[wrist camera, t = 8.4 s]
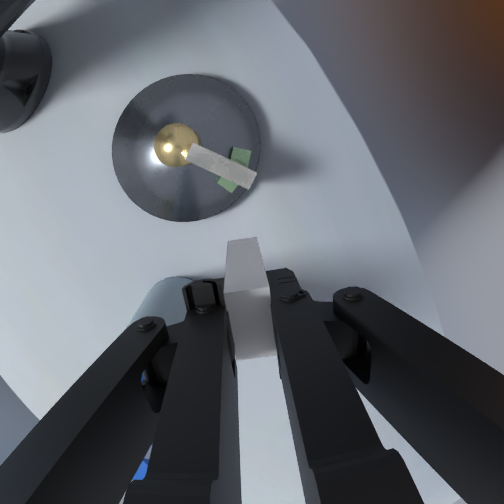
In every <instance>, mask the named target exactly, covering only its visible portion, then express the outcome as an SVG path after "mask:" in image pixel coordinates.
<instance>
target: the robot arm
mask: <svg viewBox="0 0 504 504" xmlns="http://www.w3.org/2000/svg"><path fill="white" fill-rule="evenodd" d="M34 1H35V0H0V133H6V132H9V131H12V130H14V129H16V128H17V127H19V126H20V125H22V124H23V123H24V122H25V121H26V120H27V119H28V118H29V117H30V116H31V114H32V113H33V112H34V111H35V109H36V108H37V106H38V104H39V103H40V101H41V99H42V97H43V95H44V93H45V90H46V88H47V85H48V81H49V77H50V72H51V54H50V50H49V47H48V45H47V43H46V41H45V40H44V39H43V38H42V37H40V36H39V35H37V34H35V33H33V32H31V31H27V30H14V31H12V30H8V29H9V28H10V27H11V25H12V24H13V23H14V22H15V21H16V20H17V19H18V18H19V17H20V16H21V15H22V14H23V12H24V11H25V10H26V9H27V8H28V7H29V6H30V5H31V4H32V3H33V2H34ZM182 293H183V297H184V302H185V306H186V310H187V312H186V316H185V319H184V321H182V322H179V323H176V324H173V325H169V326H166V323H165V320H164V319H163V318H161V317H157V316H151V317H150V316H146V317H145V318H144V317H142V318H140V319H139V320H137V321H134V322H133V323H132V324H130V325H129V326H128V327H127V328H126V329H125V330H124V332H123V333H122V334H121V335H120V336H119V337H118V338H117V339H116V340H115V341H114V342H113V343H112V344H111V345H110V346H109V347H108V348H107V349H106V350H105V351H104V352H103V353H102V354H101V355H100V357H99V358H98V359H97V360H96V361H95V362H94V363H93V364H92V365H91V366H90V367H89V368H88V369H87V370H86V371H85V372H84V373H83V375H82V376H81V377H80V378H79V379H78V380H77V381H76V382H75V383H74V384H73V385H72V386H71V387H70V389H69V390H68V391H67V392H66V393H65V394H64V395H63V396H62V397H61V398H60V399H59V400H58V402H57V403H56V404H55V405H54V406H53V407H52V408H51V409H50V410H49V411H48V413H47V414H46V415H45V416H44V417H43V418H42V419H41V420H40V421H39V423H38V424H37V425H36V426H35V427H34V428H33V429H32V430H31V432H30V433H29V434H28V435H27V436H26V437H25V438H24V440H23V441H22V442H21V443H20V444H19V445H18V446H17V448H16V449H15V450H14V451H13V452H12V453H11V454H10V456H9V457H8V458H7V459H6V460H5V461H4V463H3V464H2V465H1V466H0V504H119V502H120V500H121V499H122V497H123V495H124V493H125V492H126V493H125V497H124V502H123V504H242V500H241V476H240V449H239V418H238V382H237V365H236V361H238V360H246V359H253V358H261V357H268V356H274V355H277V357H278V365H279V374H280V379H282V384H283V389H284V394H285V399H286V405H287V410H288V415H289V420H290V425H291V430H292V435H293V440H294V445H295V450H296V456H297V461H298V466H299V471H300V476H301V481H302V486H303V492H304V497H305V502H306V504H424V502H423V500H422V498H421V496H420V494H419V491H418V489H417V487H416V485H415V483H414V481H413V479H412V477H411V475H410V472H409V470H408V468H407V466H406V464H405V462H404V460H403V458H402V457H401V455H400V454H399V452H398V451H396V450H395V449H394V448H392V449H389V450H386V449H385V448H384V447H383V445H382V443H381V441H380V439H379V437H378V435H377V432H376V430H375V428H374V426H373V424H372V422H371V419H370V417H369V415H368V413H367V411H366V409H365V407H364V404H363V402H362V400H361V398H360V396H359V394H358V392H357V390H356V388H357V389H358V390H359V391H360V392H361V394H362V395H363V396H364V397H365V398H366V399H367V400H368V401H369V402H370V403H371V404H372V405H373V406H374V407H375V408H376V409H377V410H378V412H379V413H380V414H381V415H382V416H383V417H384V418H385V419H386V420H387V421H388V422H389V423H390V424H391V425H392V426H393V427H394V428H395V429H396V431H397V432H398V433H399V434H400V435H401V436H402V437H403V438H404V439H405V440H406V441H407V442H408V443H409V444H410V445H411V446H412V447H413V448H414V449H415V450H416V451H417V452H418V453H419V455H420V456H421V457H422V458H423V459H424V460H425V461H426V462H427V463H428V464H429V465H430V466H431V467H432V468H433V469H434V470H435V471H436V472H437V473H438V474H439V475H440V476H441V477H442V478H443V479H444V480H445V481H446V482H447V483H448V484H449V485H450V486H451V488H452V489H453V490H454V491H455V492H456V493H457V494H458V495H459V496H460V497H461V498H463V500H464V501H465V502H466V503H467V504H504V375H503V374H501V373H500V372H498V371H497V370H495V369H494V368H492V367H490V366H489V365H488V364H486V363H485V362H483V361H481V360H480V359H478V358H477V357H475V356H474V355H472V354H470V353H469V352H467V351H466V350H464V349H462V348H461V347H460V346H458V345H456V344H455V343H453V342H452V341H450V340H449V339H447V338H445V337H444V336H442V335H441V334H439V333H437V332H436V331H434V330H433V329H431V328H429V327H428V326H426V325H425V324H423V323H421V322H420V321H418V320H417V319H415V318H413V317H412V316H410V315H408V314H407V313H405V312H404V311H402V310H400V309H399V308H397V307H395V306H394V305H392V304H391V303H389V302H387V301H386V300H384V299H382V298H381V297H379V296H377V295H376V294H374V293H372V292H371V291H369V290H367V289H364V288H358V287H347V288H344V289H341V290H339V291H337V292H335V293H334V295H333V302H318V301H313V300H312V298H311V296H310V294H309V293H308V292H307V291H305V290H302V289H301V287H300V285H299V283H298V281H297V279H296V277H295V275H294V272H293V271H291V270H289V269H287V268H284V269H277V270H270V271H265V268H264V264H263V260H262V256H261V252H260V248H259V244H258V240H257V237H253V238H246V239H239V240H232V241H228V244H227V256H226V268H225V278H220V279H201V280H197V281H193V282H191V283H188V284H187V285H185V286H184V287H183V288H182ZM235 356H236V360H235ZM142 374H143V376H144V378H145V379H144V380H143V382H142V383H141V378H142ZM355 387H356V388H355ZM152 443H153V445H152ZM151 445H152V449H151V453H150V458H149V462H148V467H147V472H146V475H145V477H144V478H143V479H142V480H133V481H132V479H133V477H134V475H135V474H136V472H137V470H138V468H139V466H140V465H141V463H142V461H143V459H144V457H145V456H146V454H147V452H148V450H149V448H150V447H151ZM131 481H132V482H131Z"/></svg>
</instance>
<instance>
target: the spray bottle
mask: <svg viewBox="0 0 504 504" xmlns="http://www.w3.org/2000/svg"><path fill="white" fill-rule="evenodd" d="M191 282H193V281H192V280H190V279H188V278H182V277H171V278H166V279H164V280H162V281H160V282H158V283H156V284H155V285H154V287H153V288H152V289H151V290H150V291H149V293H148V294H147V296H146V298H145V299H144V301H143V302H142V304H141V305H140V307H139V309H138V310H137V312H136V313H135V315H134V317H133V318H132V320H131V322H130V323H129V325H130V324H132V323H133V322H134V321H137V320H139V319H140V318H142V317H144V318H145V317H146V316H150V317H151V316H157V317H161V318H163V319H164V320H165V323H166V326H169V325H173V324H176V323H179V322H182V321H184V319H185V316H186V312H187V310H186V306H185V302H184V297H183V293H182V288H183V287H184V286H185V285H187V284H188V283H191ZM129 325H128V326H129ZM128 326H127V327H128ZM144 379H145V378H144V376H143V374H142V378H141V383H142V382H143V380H144ZM152 445H153V443H152ZM152 445H151V447H150V448H149V450H148V452H147V454H146V456H145V457H144V459H143V461H142V463H141V465H140V466H139V468H138V470H137V472H136V474H135V475H134V477H133V479H132V480H142V479H143V478H144V477H145V475H146V472H147V467H148V462H149V458H150V453H151V449H152Z"/></svg>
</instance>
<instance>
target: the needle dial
mask: <svg viewBox="0 0 504 504" xmlns="http://www.w3.org/2000/svg"><path fill="white" fill-rule="evenodd" d="M154 152H155V155H156V157H157V158H158V160H159V161H160V162H161V163H163V164H164V165H166V166H169V167H182V166H187V165H190V164H192V163H193V164H195V165H197V166H199V167H202V168H204V169H206V170H208V171H210V172H212V173H215V174H217V175H219V176H221V177H223V178H225V179H227V180H229V181H232V182H234V183H236V184H238V185H240V186H242V187H244V188H246V189H248V190H249V189H250V187H251V185H252V183H253V181H254V179H255V177H256V175H257V172H255V171H253V170H251V169H249V168H247V167H245V166H243V165H241V164H239V163H236V162H234V161H232V160H230V159H228V158H226V157H224V156H222V155H219V154H217V153H215V152H213V151H211V150H209V149H206V148H204V147H202V141H201V138H200V136H199V135H198V133H197V132H196V131H194V130H193V129H191V128H190V127H188V126H186V125H184V124H180V123H173V124H169V125H167V126H165V127H164V128H162V129H161V130H160V131H159V132H158V134H157V136H156V138H155V141H154Z"/></svg>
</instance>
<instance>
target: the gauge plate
mask: <svg viewBox="0 0 504 504" xmlns="http://www.w3.org/2000/svg"><path fill="white" fill-rule="evenodd" d="M173 123H180V124H184V125H186V126H188V127H190V128H191V129H193V130H194V131H196V132H197V133H198V135H199V136H200V138H201V141H202V147H204V148H206V149H209V150H211V151H213V152H215V153H217V154H219V155H222V156H224V157H226V158H228V159H230V160H232V161H234V162H236V163H239V164H241V165H243V166H245V167H247V168H249V169H251V170H253V171H256V167H257V164H258V160H259V154H260V137H259V130H258V126H257V123H256V120H255V118H254V115H253V113H252V111H251V109H250V108H249V106H248V104H247V103H246V102H245V101H244V99H243V98H242V97H241V96H240V95H239V94H238V93H237V92H236V91H235V90H233V89H232V88H231V87H229V86H228V85H226V84H224V83H222V82H220V81H219V80H216V79H213V78H210V77H207V76H202V75H194V74H184V75H176V76H170V77H167V78H164V79H161V80H159V81H157V82H155V83H153V84H151V85H149V86H148V87H146V88H145V89H143V90H142V91H141V92H140V93H138V94H137V95H136V96H135V97H134V98H133V99H132V100H131V101H130V103H129V104H128V105H127V107H126V108H125V109H124V111H123V113H122V115H121V116H120V118H119V120H118V123H117V125H116V128H115V132H114V136H113V143H112V159H113V166H114V170H115V173H116V176H117V178H118V181H119V183H120V185H121V187H122V188H123V190H124V191H125V193H126V194H127V195H128V197H129V198H130V199H131V200H132V201H133V202H134V203H135V204H136V205H137V206H139V207H140V208H141V209H143V210H144V211H146V212H148V213H149V214H151V215H153V216H156V217H158V218H161V219H165V220H169V221H176V222H190V221H198V220H201V219H205V218H208V217H211V216H213V215H216V214H218V213H219V212H221V211H223V210H225V209H226V208H227V207H229V206H230V205H231V204H233V203H234V202H235V201H236V200H237V199H238V198H239V197H240V196H241V195H242V193H243V192H244V191H245V190H246V188H244V187H242V186H240V185H238V184H236V183H234V182H232V181H229V180H227V179H225V178H223V177H221V176H219V175H217V174H215V173H212V172H210V171H208V170H206V169H204V168H202V167H199V166H197V165H195V164H193V163H192V164H190V165H187V166H182V167H169V166H166V165H164V164H163V163H161V162H160V161H159V160H158V158H157V157H156V155H155V152H154V141H155V138H156V136H157V134H158V132H159V131H160V130H161V129H162V128H164V127H165V126H167V125H169V124H173Z"/></svg>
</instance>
